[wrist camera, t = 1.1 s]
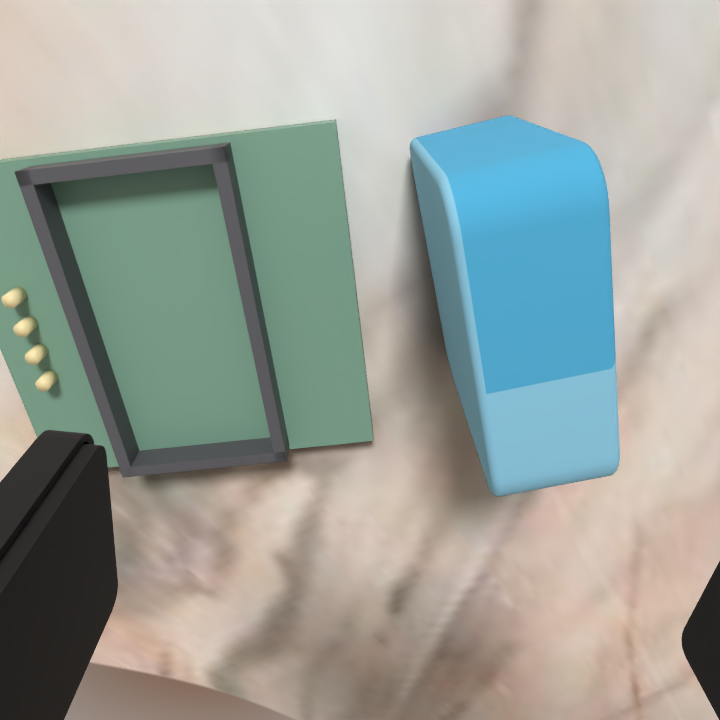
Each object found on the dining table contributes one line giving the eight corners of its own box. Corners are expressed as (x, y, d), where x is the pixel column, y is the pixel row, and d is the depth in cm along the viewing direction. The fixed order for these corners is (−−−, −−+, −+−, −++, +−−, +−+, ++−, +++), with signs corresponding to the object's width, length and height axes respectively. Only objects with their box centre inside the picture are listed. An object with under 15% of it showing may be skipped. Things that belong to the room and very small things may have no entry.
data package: (532, 347, 32) (623, 493, 21) (448, 365, 33) (497, 517, 22) (505, 110, 27) (610, 146, 16) (406, 135, 27) (443, 185, 17)
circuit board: (335, 119, 27) (334, 126, 24) (372, 428, 34) (374, 456, 32) (-58, 166, 27) (-97, 177, 25) (61, 460, 35) (40, 490, 32)
